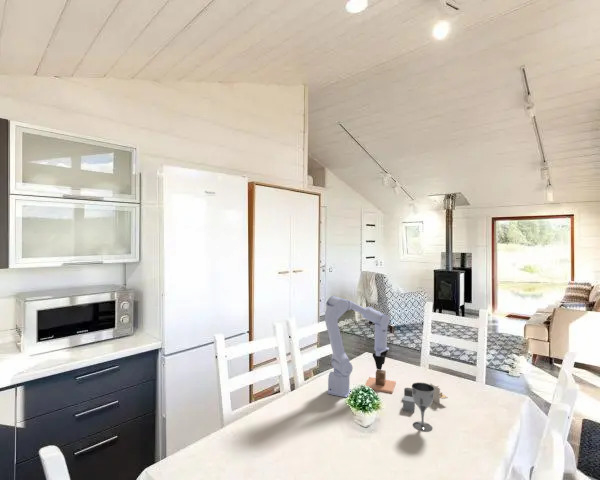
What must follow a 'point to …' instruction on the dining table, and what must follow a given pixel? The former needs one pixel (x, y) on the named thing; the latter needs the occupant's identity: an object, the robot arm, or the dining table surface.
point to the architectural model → (437, 394)
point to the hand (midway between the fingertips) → (380, 366)
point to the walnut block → (380, 377)
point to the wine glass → (422, 403)
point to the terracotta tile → (386, 388)
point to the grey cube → (408, 404)
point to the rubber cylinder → (408, 392)
